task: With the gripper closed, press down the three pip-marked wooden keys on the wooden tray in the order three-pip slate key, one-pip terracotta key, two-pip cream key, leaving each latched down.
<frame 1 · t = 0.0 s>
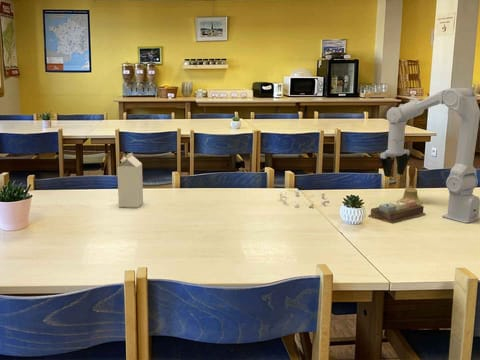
hand: (393, 175, 207), 10 cm above the table, tool pointing down, fingers open, 7 cm apart
key three slate: (387, 208, 186), point 3 cm above the table, slide at 0.0 cm
milk carton: (131, 205, 200), on the table
wooden tray: (397, 215, 190), on the table
key two cream: (397, 206, 189), point 3 cm above the table, slide at 0.0 cm
hand bell: (409, 204, 207), on the table
key one terracotta: (407, 204, 192), point 3 cm above the table, slide at 0.0 cm
game piece set: (303, 203, 208), on the table
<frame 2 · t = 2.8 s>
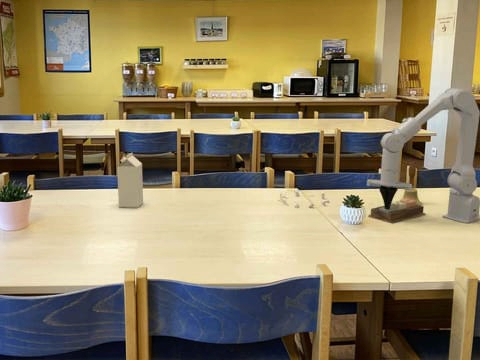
hand: (387, 208, 186), 3 cm above the table, tool pointing down, fingers closed, pressing on key three slate
key three slate: (387, 212, 186), point 2 cm above the table, slide at 1.1 cm, touching gripper
everything else where it was.
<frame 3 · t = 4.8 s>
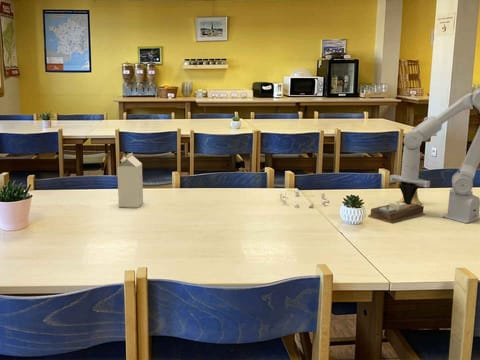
hand: (407, 203, 192), 3 cm above the table, tool pointing down, fingers closed, pressing on key one terracotta
key three slate: (387, 212, 186), point 2 cm above the table, slide at 1.1 cm
key one terracotta: (407, 207, 193), point 2 cm above the table, slide at 1.1 cm, touching gripper
everything else where it was.
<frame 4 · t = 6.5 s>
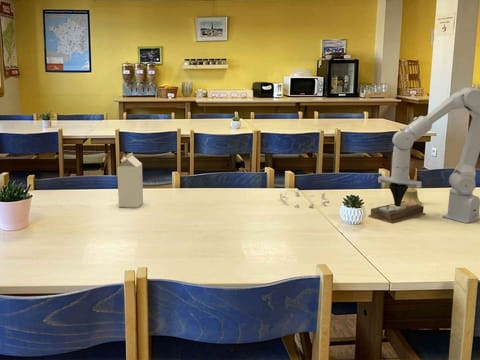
hand: (397, 205, 189), 4 cm above the table, tool pointing down, fingers closed, pressing on key two cream
key two cream: (397, 208, 189), point 2 cm above the table, slide at 0.9 cm, touching gripper
key one terracotta: (407, 207, 193), point 2 cm above the table, slide at 1.1 cm
everything else where it was.
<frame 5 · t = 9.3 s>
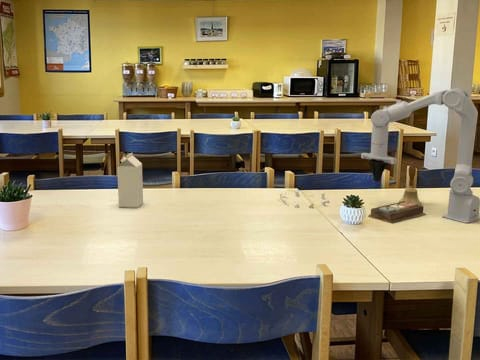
hand: (377, 180, 199), 10 cm above the table, tool pointing down, fingers closed
key two cream: (397, 209, 189), point 2 cm above the table, slide at 1.1 cm
everything else where it was.
at the end: key three slate slide at 1.1 cm; key one terracotta slide at 1.1 cm; key two cream slide at 1.1 cm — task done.
